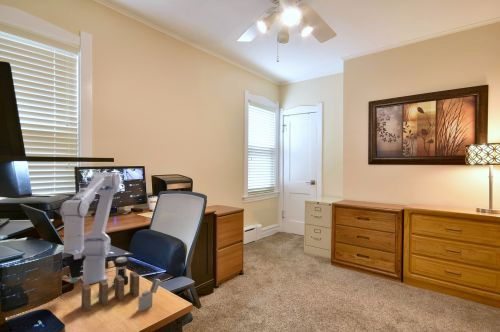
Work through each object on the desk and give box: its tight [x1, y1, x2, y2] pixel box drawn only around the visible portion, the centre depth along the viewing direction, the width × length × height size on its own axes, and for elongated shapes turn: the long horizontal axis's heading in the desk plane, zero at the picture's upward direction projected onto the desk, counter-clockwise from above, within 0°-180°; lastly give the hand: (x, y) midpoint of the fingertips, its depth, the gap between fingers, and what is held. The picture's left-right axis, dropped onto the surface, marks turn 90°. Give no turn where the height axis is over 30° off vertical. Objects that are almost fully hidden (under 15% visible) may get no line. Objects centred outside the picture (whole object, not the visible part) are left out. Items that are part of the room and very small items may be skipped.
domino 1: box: [68, 274, 79, 284], centre depth 91 cm, size 5×2×7 cm, turn 42°
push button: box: [108, 256, 130, 287], centre depth 102 cm, size 7×5×10 cm
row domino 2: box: [98, 279, 109, 307], centre depth 89 cm, size 5×2×7 cm, turn 42°
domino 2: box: [129, 271, 140, 298], centre depth 95 cm, size 5×2×7 cm, turn 42°
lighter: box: [137, 278, 161, 312], centre depth 87 cm, size 7×2×8 cm, turn 146°
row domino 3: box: [114, 275, 125, 302], centre depth 92 cm, size 5×2×7 cm, turn 42°
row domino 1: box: [81, 283, 92, 313], centre depth 85 cm, size 5×2×7 cm, turn 42°
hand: (73, 274), depth 91 cm, fingers closed on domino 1, 5 cm apart
